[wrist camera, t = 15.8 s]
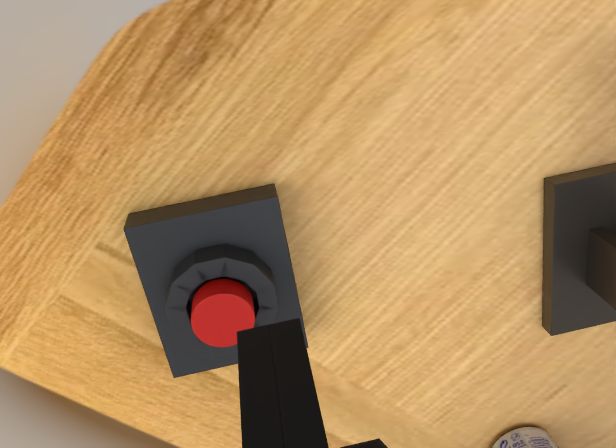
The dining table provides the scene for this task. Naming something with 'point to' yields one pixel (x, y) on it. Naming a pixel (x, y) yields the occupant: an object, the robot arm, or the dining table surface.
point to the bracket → (579, 250)
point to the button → (222, 312)
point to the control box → (212, 267)
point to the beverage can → (526, 439)
